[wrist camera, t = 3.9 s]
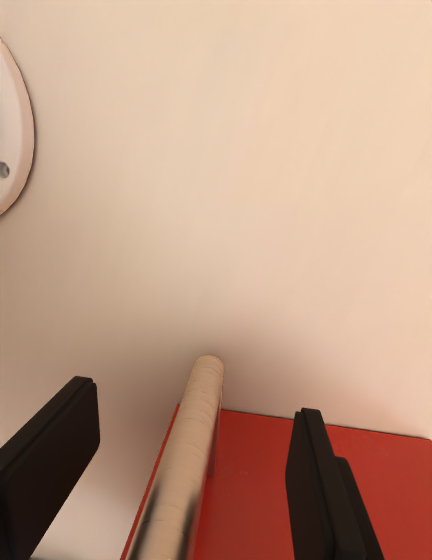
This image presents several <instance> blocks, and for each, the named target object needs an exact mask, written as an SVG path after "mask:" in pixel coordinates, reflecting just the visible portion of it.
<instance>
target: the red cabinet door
mask: <svg viewBox="0 0 432 560" xmlns="http://www.w3.org/2000/svg"><path fill="white" fill-rule="evenodd" d="M223 377H224V366H223V364H222V362H221V361H220V360H219V359H218V358H216V357H214V356H211V355H205V356H202V357H200V358H199V359H197V361H196V362H195V365H194V367H193V370H192V373H191V376H190V379H189V382H188V384H187V387H186V390H185V393H184V396H183V398H182V401H181V404H177V407H176V409H175V412H174V415H173V418H172V420H171V423H170V426H169V428H168V431H167V434H166V436H165V439H164V442H163V445H162V447H161V450H160V453H159V455H158V458H157V461H156V463H155V466H154V469H153V472H152V474H151V477H150V480H149V482H148V485H147V488H146V491H145V493H144V496H143V499H142V501H141V504H140V507H139V509H138V512H137V515H136V518H135V520H134V523H133V526H132V528H131V531H130V534H129V536H128V539H127V542H126V545H125V547H124V550H123V553H122V555H121V558H120V560H295V559H294V550H293V542H292V534H291V526H290V517H289V509H288V501H287V492H286V484H285V469H286V463H287V457H288V452H289V446H290V440H291V434H292V429H293V423H294V420H288V419H281V418H275V417H268V416H261V415H254V414H247V413H240V412H233V411H226V410H221V401H222V389H223ZM325 427H326V430H327V433H328V436H329V439H330V442H331V445H332V449H333V452H334V455H335V456H338V457H344V458H346V459H347V461H348V463H349V465H350V467H351V470H352V473H353V475H354V478H355V481H356V483H357V486H358V489H359V491H360V494H361V497H362V499H363V502H364V505H365V507H366V510H367V513H368V515H369V518H370V521H371V523H372V526H373V529H374V531H375V534H376V537H377V539H378V542H379V545H380V547H381V550H382V553H383V555H384V558H385V560H432V441H431V440H427V439H420V438H413V437H406V436H399V435H392V434H385V433H378V432H371V431H364V430H358V429H351V428H344V427H337V426H330V425H325Z"/></svg>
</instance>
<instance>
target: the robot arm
mask: <svg viewBox="0 0 432 560" xmlns="http://www.w3.org/2000/svg"><path fill="white" fill-rule="evenodd" d="M33 150H34V121H33V116H32V111H31V105H30V100H29V96H28V93H27V90H26V87H25V84H24V81H23V78H22V76H21V73H20V71H19V69H18V67H17V65H16V63H15V61H14V59H13V57H12V55H11V53H10V51H9V49H8V48H7V47H6V45H5V44H4V42H3V41H2V40H1V38H0V214H2V213H4V212H5V211H6V210H7V209H8V208H9V207H10V206H11V205H12V204H13V202H14V201H15V200H16V199H17V197H18V196H19V194H20V192H21V191H22V189H23V187H24V185H25V183H26V180H27V177H28V174H29V171H30V168H31V165H32V158H33ZM99 444H100V427H99V413H98V399H97V386H96V383H93V380H92V378H87V377H80V376H75V377H74V378H72V379H71V380H70V381H69V382H68V383H67V384H66V385H65V386H64V387H63V388H62V389H61V390H60V391H59V392H58V393H57V394H56V395H55V396H54V397H53V398H52V399H51V400H50V401H49V402H48V403H47V404H45V405H44V406H43V407H42V408H41V409H40V410H39V411H38V412H37V413H36V414H35V415H34V416H33V417H32V418H31V419H30V420H29V421H28V422H27V423H26V424H25V425H24V426H23V427H22V428H21V429H20V430H19V431H18V432H17V433H16V434H15V435H14V436H13V437H12V438H11V439H9V440H8V441H7V442H6V443H5V444H4V445H3V446H2V447H1V448H0V560H28V559H29V558H30V556H31V555H32V553H33V552H34V550H35V549H36V547H37V545H38V544H39V542H40V541H41V539H42V537H43V536H44V534H45V533H46V531H47V529H48V528H49V526H50V525H51V523H52V521H53V520H54V518H55V517H56V515H57V514H58V512H59V510H60V509H61V507H62V506H63V504H64V502H65V501H66V499H67V498H68V496H69V494H70V493H71V491H72V490H73V488H74V486H75V485H76V483H77V482H78V480H79V478H80V477H81V475H82V474H83V472H84V470H85V469H86V467H87V466H88V464H89V463H90V461H91V459H92V458H93V456H94V455H95V453H96V451H97V450H98V447H99ZM285 484H286V492H287V501H288V509H289V517H290V526H291V534H292V542H293V550H294V559H295V560H385V558H384V555H383V553H382V550H381V547H380V545H379V542H378V539H377V537H376V534H375V531H374V529H373V526H372V523H371V521H370V518H369V515H368V513H367V510H366V507H365V505H364V502H363V499H362V497H361V494H360V491H359V489H358V486H357V483H356V481H355V478H354V475H353V473H352V470H351V467H350V465H349V463H348V461H347V459H346V458H344V457H338V456H335V455H334V452H333V449H332V445H331V442H330V439H329V436H328V433H327V430H326V427H325V424H324V421H323V418H322V415H321V412H320V411H319V410H317V409H309V408H302V409H301V412H298V411H296V412H295V417H294V423H293V429H292V434H291V440H290V446H289V452H288V457H287V463H286V469H285Z"/></svg>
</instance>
